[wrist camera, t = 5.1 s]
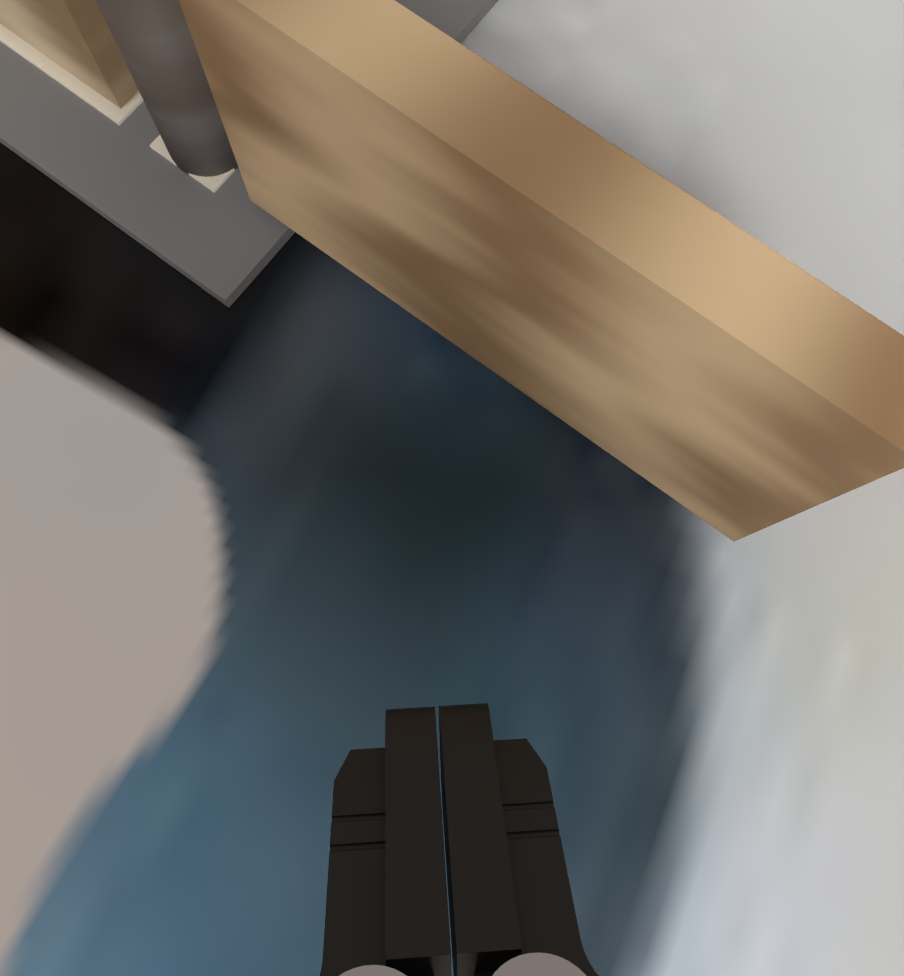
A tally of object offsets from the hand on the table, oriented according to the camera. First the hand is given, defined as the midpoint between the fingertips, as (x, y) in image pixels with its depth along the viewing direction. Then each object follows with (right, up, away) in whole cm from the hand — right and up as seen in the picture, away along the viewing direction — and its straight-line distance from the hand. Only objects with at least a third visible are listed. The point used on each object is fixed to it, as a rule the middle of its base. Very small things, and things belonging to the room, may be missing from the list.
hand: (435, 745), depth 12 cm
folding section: (+1, +7, +7) cm, 10 cm away
